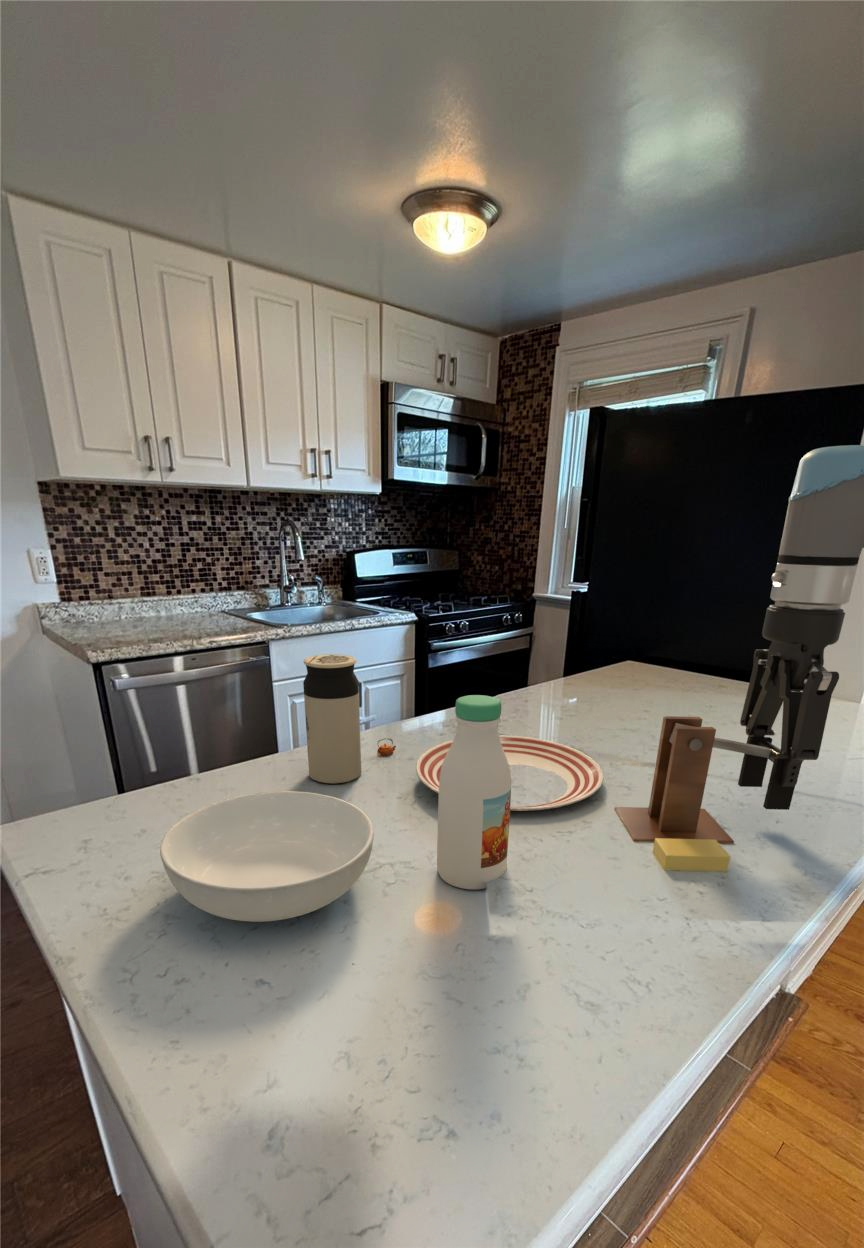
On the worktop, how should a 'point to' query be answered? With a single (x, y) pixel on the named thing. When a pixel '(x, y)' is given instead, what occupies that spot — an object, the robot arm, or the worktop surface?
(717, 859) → the butter
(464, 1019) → the worktop surface
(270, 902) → the serving bowl
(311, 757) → the travel mug
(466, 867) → the milk bottle
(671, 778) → the brown lever stand
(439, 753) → the dinner plate
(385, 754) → the teapot
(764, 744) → the metal lever handle
